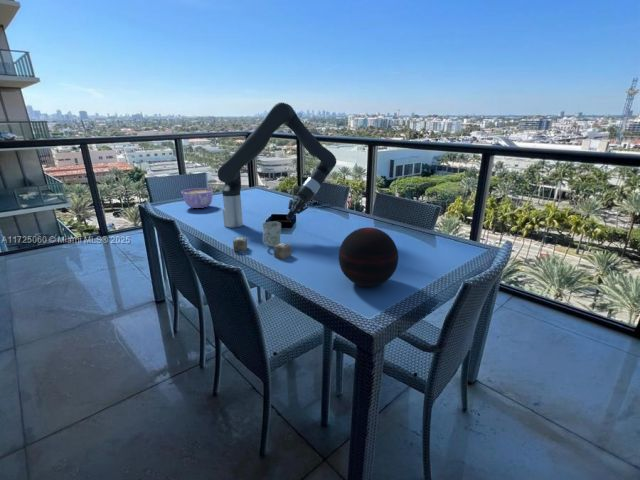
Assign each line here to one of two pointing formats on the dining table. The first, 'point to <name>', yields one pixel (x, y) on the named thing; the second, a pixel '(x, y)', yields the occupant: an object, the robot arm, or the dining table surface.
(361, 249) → the decorative orb
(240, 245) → the walnut block left
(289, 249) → the walnut block right
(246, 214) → the dining table surface
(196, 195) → the bowl of food
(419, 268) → the dining table surface
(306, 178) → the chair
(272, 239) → the mug
